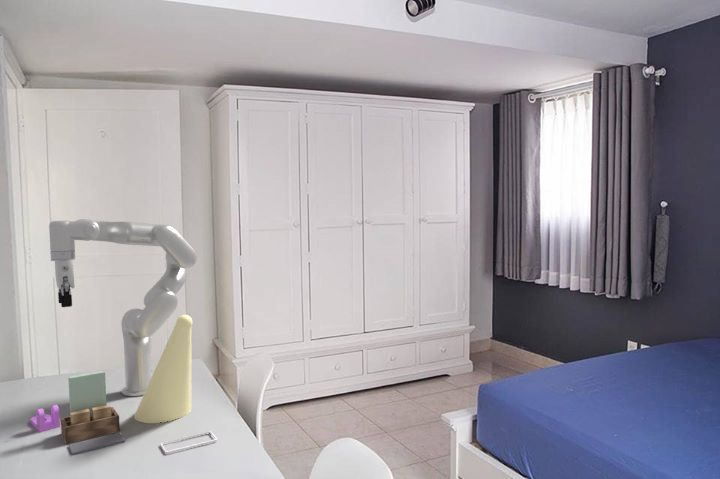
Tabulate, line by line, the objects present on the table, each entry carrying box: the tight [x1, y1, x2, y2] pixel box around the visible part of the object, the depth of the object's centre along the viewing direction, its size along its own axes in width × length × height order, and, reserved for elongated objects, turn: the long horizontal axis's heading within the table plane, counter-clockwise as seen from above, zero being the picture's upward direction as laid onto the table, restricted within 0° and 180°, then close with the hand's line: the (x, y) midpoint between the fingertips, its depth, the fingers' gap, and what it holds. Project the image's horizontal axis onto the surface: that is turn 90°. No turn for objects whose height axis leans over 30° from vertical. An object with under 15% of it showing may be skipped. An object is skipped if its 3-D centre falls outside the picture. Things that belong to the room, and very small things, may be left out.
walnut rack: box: [60, 406, 121, 445], centre depth 168 cm, size 15×9×5 cm, turn 126°
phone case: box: [159, 430, 218, 456], centre depth 159 cm, size 7×1×15 cm
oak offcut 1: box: [69, 409, 90, 425], centre depth 165 cm, size 5×2×8 cm, turn 126°
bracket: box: [30, 404, 61, 433], centre depth 176 cm, size 13×6×7 cm, turn 46°
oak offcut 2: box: [92, 404, 112, 421], centre depth 168 cm, size 5×2×8 cm, turn 126°
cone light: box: [133, 314, 194, 424], centre depth 181 cm, size 25×18×35 cm
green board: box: [67, 370, 107, 420], centre depth 170 cm, size 10×2×18 cm, turn 126°
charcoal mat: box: [68, 431, 126, 456], centre depth 160 cm, size 14×7×1 cm, turn 126°
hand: (65, 304), depth 189 cm, fingers open, 9 cm apart
